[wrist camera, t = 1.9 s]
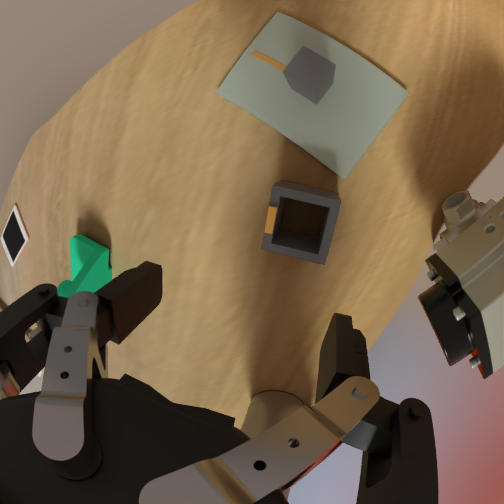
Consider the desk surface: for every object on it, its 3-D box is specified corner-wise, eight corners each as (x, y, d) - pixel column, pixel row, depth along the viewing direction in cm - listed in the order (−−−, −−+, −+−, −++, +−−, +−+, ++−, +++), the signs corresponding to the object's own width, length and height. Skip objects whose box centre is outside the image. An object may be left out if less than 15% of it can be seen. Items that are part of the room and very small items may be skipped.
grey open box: (337, 193, 27) (341, 202, 22) (324, 246, 29) (324, 266, 24) (281, 180, 28) (272, 185, 23) (271, 233, 30) (260, 250, 25)
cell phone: (2, 237, 48) (0, 238, 47) (18, 202, 41) (14, 203, 41) (14, 266, 50) (12, 267, 49) (31, 237, 43) (28, 238, 42)
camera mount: (81, 229, 38) (33, 252, 28) (113, 246, 37) (64, 274, 27) (82, 289, 42) (44, 316, 33) (112, 308, 42) (73, 340, 32)
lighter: (38, 327, 55) (19, 342, 48) (39, 325, 55) (20, 340, 47) (53, 347, 56) (35, 363, 49) (54, 346, 55) (36, 361, 48)
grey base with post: (406, 94, 21) (429, 79, 14) (343, 179, 26) (350, 187, 20) (279, 15, 21) (266, -17, 14) (218, 94, 26) (189, 81, 19)
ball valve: (493, 154, 20) (603, 175, 3) (516, 215, 21) (608, 271, 4) (383, 239, 27) (442, 344, 11) (415, 295, 28) (465, 411, 12)
